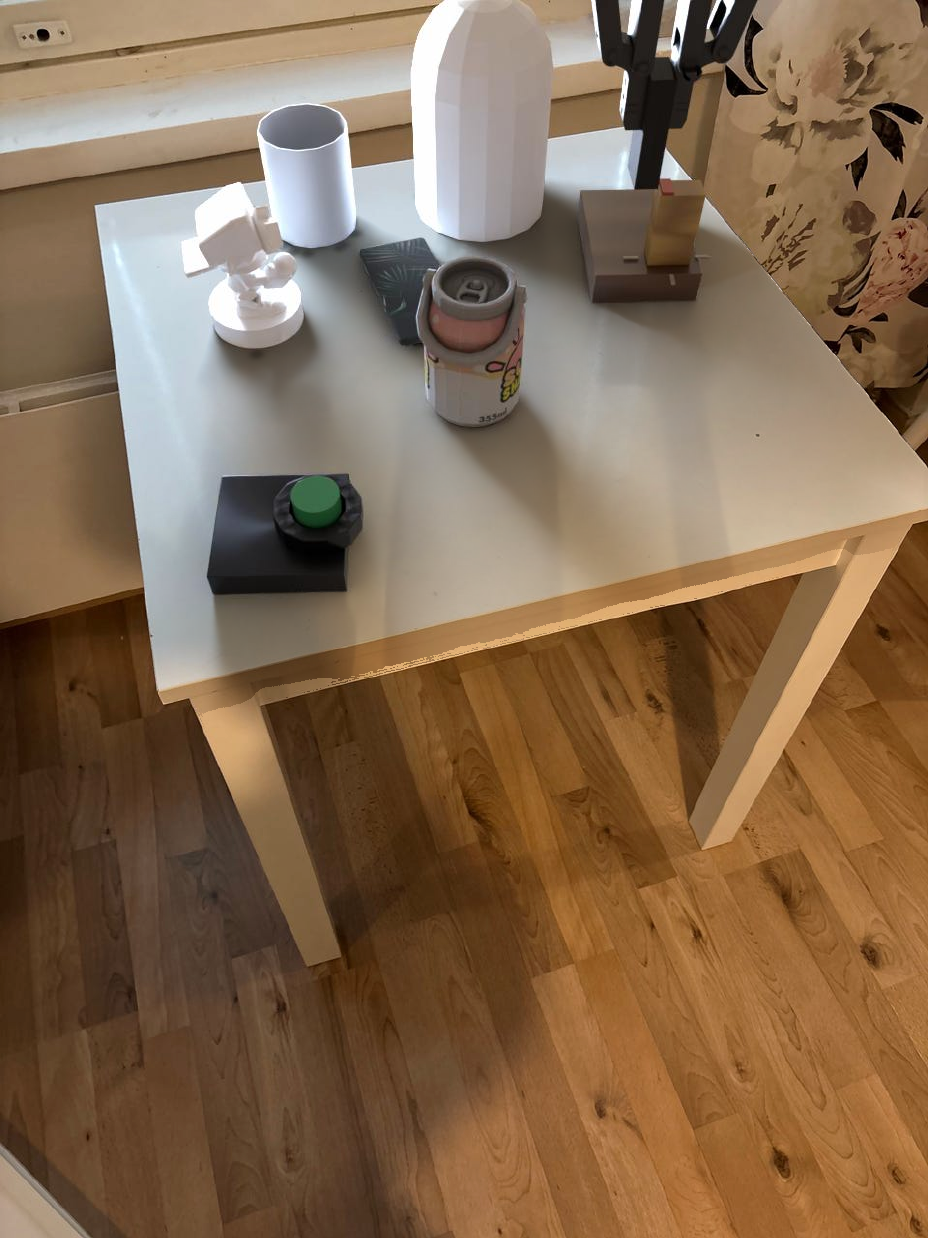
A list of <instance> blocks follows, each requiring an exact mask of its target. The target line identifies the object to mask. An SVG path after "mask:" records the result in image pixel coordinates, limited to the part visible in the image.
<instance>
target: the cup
mask: <svg viewBox="0 0 928 1238" xmlns="http://www.w3.org/2000/svg"><path fill="white" fill-rule="evenodd" d="M256 133H257V139H258V146H259V150H260V155H261V162H262V167H263V172H264V177H265V184H266V189H267V195H268V200H269V206H270V213H271V216H272V217H271V218H272V219H274V220H276V221H277V222H278V226H279V229H280V234H281V238H282V241H283V242H285V243H288V244H290V245H291V246H295V247H300V248H306V249H307V248H308V249H316V248H323V247H330V246H334V245H335V244H338V243H340V242H342V241H344V240H346V239H348V237H349V236H350V235H351V234H352V233H353V232H354V231H355V230H356V224H357V212H356V210H357V209H356V201H355V191H354V182H353V173H352V172H353V171H352V170H353V169H352V162H351V161H352V159H351V149H350V139H349V130H348V122H347V120H346V118H345V117H344V116H343V114H342V113H341V112H340V111H337V110H335V109H333V108H332V107H329V106H326V105H322V104H313V103H298V104H297V103H296V104H289V105H285V106H282V107H279V108H277V109H274V110H271V111H270V112H269V113H267V114H266V115H264V116H263V118H261V119H260V120H259V123H258V127H257V132H256Z"/></svg>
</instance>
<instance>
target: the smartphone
mask: <svg viewBox="0 0 928 1238" xmlns="http://www.w3.org/2000/svg"><path fill="white" fill-rule="evenodd" d="M358 254H359V255H358V256H359V257H360V260H361V262H362V264H363V266H364V268H365V271H366V273H367V275H368V277H369V279H370V281H371V283H372V286H373V288H374V290H375V292H376V295H377V298H378V300H379V302H380V304H381V307H382V308H383V309H384V313H385V315H386V317H387V319H388V321H389V323H390V325H391V328H392V329H393V331H394V333H395V335H396V338H397V339H398V342H399V345H401V346H403V347H407V346H412V345H416V344H420V343H422V341H421V340H420V338H419V336H418V330H417V323H416V315H417V311H418V306H419V302H420V298H421V294H422V290H423V287H424V285H423V277H424V276H425V275H426V272H427V270H428V269H434V270H438V268H439V267H440V265H439V263H438V261H437V259H436V257H435V256H434V254H433V252H432V250H431V248H430V247H429V244H428V242H427V241H426V239H425V238H424V237H416V238H411V239H406V240H405V239H404V240H400V241H395V242H390V243H384V244H380V245H375V246H370V247H369V246H368V247H364V248H361V249H360V250H359V251H358Z"/></svg>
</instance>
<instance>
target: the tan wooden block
mask: <svg viewBox="0 0 928 1238" xmlns="http://www.w3.org/2000/svg"><path fill="white" fill-rule="evenodd" d="M705 200H706V192H705V188H704V186H703V182H702V179H671V177H670V178H667V177H665V178H663V177H660V181H659V187H658V189H655V191H654V196H653V202H652V207H651V213H650V218H649V224H648V229H647V235H646V240H645V246H644V252H645V257H646V261H647V265H648V266H655V265H690V261H691V257H692V253H693V248H694V246H695V244H696V239H697V235H698V230H699V226H700V222H701V217H702V213H703V210H704V205H705Z"/></svg>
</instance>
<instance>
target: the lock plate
mask: <svg viewBox="0 0 928 1238" xmlns="http://www.w3.org/2000/svg"><path fill="white" fill-rule="evenodd" d="M654 191H655V189H642V190H634V188H632V189H631V188H630V189H629V188H628V189H580V190H579V196H578V197H579V198H578V207H577V213H576V214H577V216H576V218H577V223H578V224H577V225H578V228H579V229H578V231H579V235H580V241H581V248H582V253H583V259H584V265H585V270H586V277H587V282H588V288H589V295H590V299H591V303H639V302H640V303H641V302H642V303H643V302H644V303H645V302H646V303H647V302H695V301H697V298H698V293H699V290H700V286H701V282H702V277H703V271H702V268H701V263H700V261H699V259H700V260H701V259H711V255H710V254H697V250H696V246H695V245H694V248H693V253H692V257H691V261H690V265H655V266H648V265H647V261H646V257H645V252H644V246H645V240H646V235H647V229H648V224H649V218H650V213H651V207H652V202H653V196H654Z"/></svg>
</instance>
